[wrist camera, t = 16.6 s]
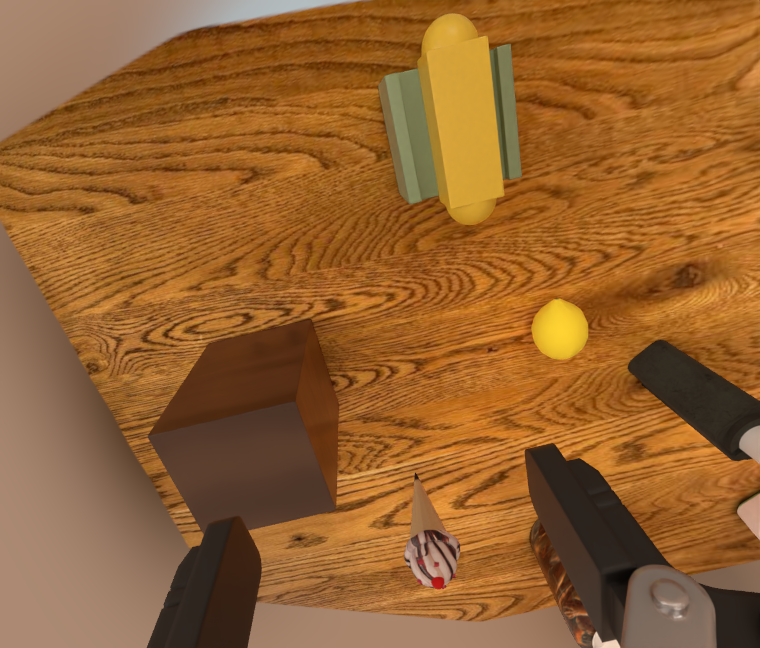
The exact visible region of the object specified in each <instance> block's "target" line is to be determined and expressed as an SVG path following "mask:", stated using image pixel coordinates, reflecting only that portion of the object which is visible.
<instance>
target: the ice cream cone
mask: <svg viewBox="0 0 760 648" xmlns="http://www.w3.org/2000/svg"><path fill="white" fill-rule="evenodd" d="M459 555H460V544H459V541H458V539H457V538H455V537H454V536H453V535H451V534H450V533H448V532H446V530H445V528H444V526H443V524H442V522H441V520H440V518H439V516H438V514H437V513H436V511H435V509H434V507H433V505H432V503H431V501H430V499H429V497H428V495H427V493H426V491H425V489H424V488H423V486H422V484H421V482H420V480H419V478H418V476H417V474H416V472H415V479H414V493H413V506H412V520H411V533H410V539H409V540H408V542H407V545H406V549H405V554H404V558H405V562H406V564H407V565H408V567H409V568H410V569H412V572H413V574H414V576H415V577H416V578H417V581H418V583H420V584H421V585H422V584H423V585H425V586H427V587H431V588H436V589H441V588H442V589H444V588H446V584H447V583H449V582H450V581H451V580H452V578H455V571H456V568H457V560H458V558H459Z"/></svg>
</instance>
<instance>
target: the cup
mask: <svg viewBox="0 0 760 648" xmlns="http://www.w3.org/2000/svg"><path fill="white" fill-rule="evenodd" d="M737 514H738V515H739V517H740V518H741V519H742V520H743V521H744V522H745V524H746V525H747V526H748V527H749V528H750V530H751V531H752V532H753V533H754V534H755V535H756V536H757V538H758V539H759V540H760V492H758V493H757V494H755V495H754V496H752V497H750V498H749V499H747V500H746V501H744V502H742V503H741V504H740V505H739V507H738V510H737Z"/></svg>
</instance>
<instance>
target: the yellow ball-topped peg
mask: <svg viewBox="0 0 760 648" xmlns="http://www.w3.org/2000/svg"><path fill="white" fill-rule="evenodd" d="M421 53H422V56H421V57H420V59H419V60H418V61H417V66H418V72H419V78H420V84H421V90H422V96H423V102H424V108H425V114H426V120H427V126H428V132H429V138H430V144H431V150H432V156H433V162H434V168H435V174H436V180H437V186H438V192H439V198H440V202H441V203H443V204H444V205H445V206H446V208H447V211H448V213H449V214H450V216H451V217H452V218H453V219H454V220H455V221H457V222H459V223H461V224H464V225H475V224H478V223H481V222H482V221H484V220H485V219H487V218H488V217H489V216H490V215H491V213H492V212H493V210H494V208H495V205H496V198H499V197H503V196H504V187H503V178H502V168H501V158H500V149H499V139H498V130H497V120H496V111H495V101H494V91H493V82H492V72H491V63H490V53H489V43H488V36H483V37H478V33H477V31H476V28H475V27H474V25H473V24H472V22H471V21H470V20H469V19H468V18H466V17H465V16H462V15H460V14H446V15H443V16H441V17H439V18H438V19H436V20H435V21H434V22H433V23H432V24H431V25H430V26H429V28H428V29H427V31H426V33H425V35H424V38H423V41H422V48H421Z"/></svg>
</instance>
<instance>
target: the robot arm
mask: <svg viewBox="0 0 760 648" xmlns="http://www.w3.org/2000/svg"><path fill="white" fill-rule="evenodd" d="M525 460H526V469H527V477H528V486H529V493H530V497H531V500H532V503H533V506H534V509H535V511H536V513H537V515H538V517H539V519H540V521H541V523H542V525H543V527H544V529H545V531H546V533H547V535H548V537H549V539H550V541H551V543H552V545H553V547H554V549H555V551H556V553H557V555H558V557H559V559H560V561H561V563H562V565H563V567H564V569H565V571H566V572H567V574H568V576H569V578H570V580H571V582H572V584H573V586H574V588H575V590H576V592H577V594H578V596H579V598H580V600H581V602H582V604H583V606H584V608H585V610H586V612H587V614H588V616H589V618H590V620H591V622H592V624H593V626H594V628H595V630H596V632H597V634H598V636H599V637H600V639H601V641H602V643H603V642H608V641H612V640H617V642H618V644H619V645H620V648H760V593H754V592H745V591H735V590H725V589H718V588H712V587H709V586H705V585H703V584H700V583H698V582H696V581H695V580H694V579H693V578H691V577H690V576H688V575H687V574H685V573H683V572H681V571H679V570H677V569H675V568H673V567H672V566H671V565H670V564H669V563H668V562H667V561H666V559H665V558H664V557H663V556H662V554H661V553H660V552H659V550H658V549H657V548H656V546H655V545H654V544H653V542H652V541H651V540H650V539H649V537H648V536H647V535H646V533H645V532H644V531H643V529H642V528H641V527H640V525H639V524H638V523H637V521H636V520H635V519H634V517H633V516H632V515H631V513H630V512H629V511H628V509H627V508H626V507H625V505H623V504H622V503H621V500H620V499H619V498H618V496H617V495H616V494H615V492H614V491H612V490H611V487H610V486H609V484H608V483H607V482H606V480H605V479H604V478H603V476H602V475H601V474H600V472H599V471H598V470H596V469H595V468H593V467H592V466H590V465H589V464H587V463H586V462H584V461H583V460H581V459H580V458H578V459H574V460H570V461H566V460H565V458H564V457H563V455H562V454H561V452H560V451H559V450H558V448H557V447H556V445H555V444H553V443H551V444H546V445H542V446H538V447H534V448H529V449H526V450H525ZM261 569H262V567H261V558H260V554H259V551H258V549H257V547H256V545H255V543H254V541H253V539H252V537H251V535H250V534H249V532H248V530H247V528H246V526H245V524H244V522H243V520H242V518H241V517H239V516H234V517H230V518H226V519H222V520H217V521H213V522H210V523H209V524H208V526H207V528H206V531H205V534H204V537H203V539H202V542H201V545H200V546H195V547H192V549H191V550H190V551H189V553H188V554H187V556H186V557H185V558H184V560H183V561H182V562H181V564H180V565H179V566H178V569H177V571H176V574H175V576H174V579H173V582H172V584H171V587H170V588H171V591H169V592H168V594H167V597H166V600H165V602H164V608H163V609H162V610H161V612H160V615H159V618H158V620H157V623H156V625H155V628H154V630H153V633H152V636H151V638H150V641H149V643H148V646H147V648H247V647H248V641H249V636H250V631H251V626H252V621H253V614H254V610H255V605H256V600H257V595H258V589H259V584H260V579H261Z"/></svg>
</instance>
